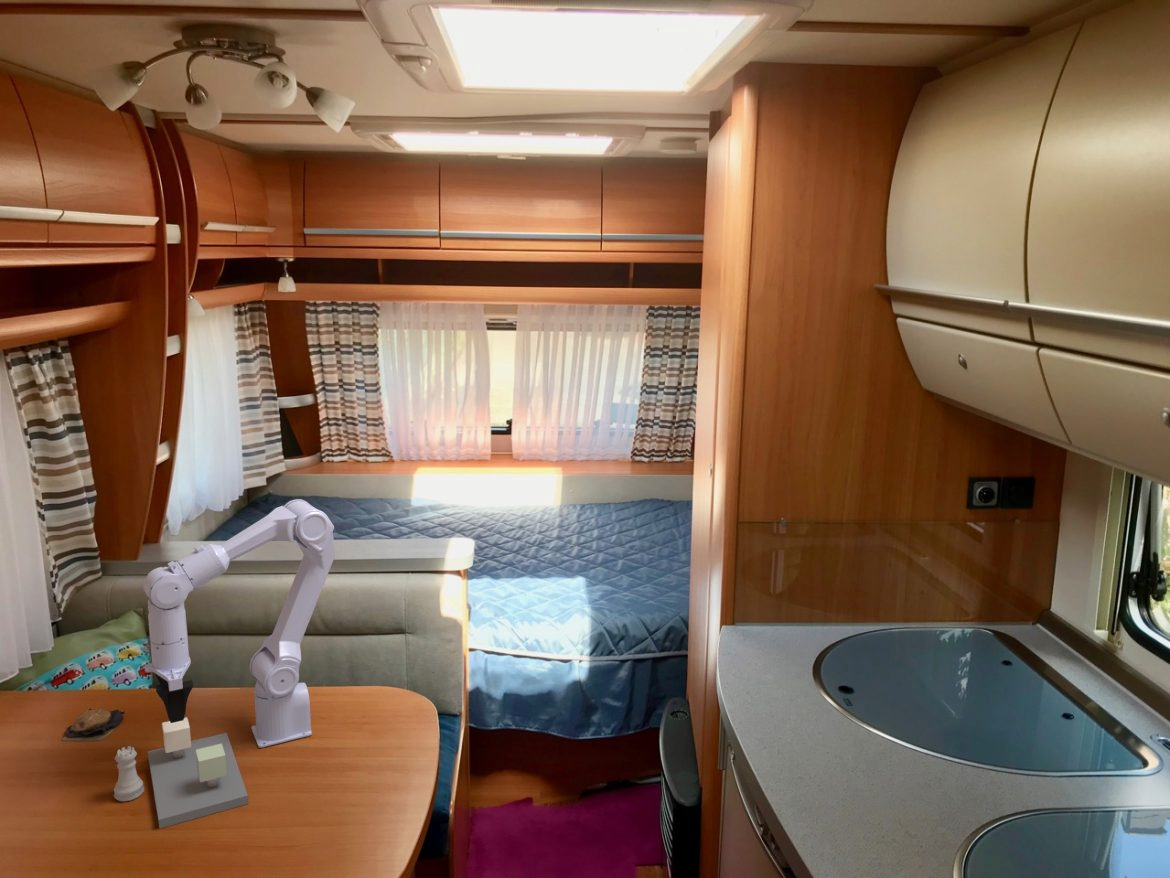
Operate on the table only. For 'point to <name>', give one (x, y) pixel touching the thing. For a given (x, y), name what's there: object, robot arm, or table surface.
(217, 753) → the pale green cube
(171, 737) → the cream matte cube
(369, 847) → the table surface
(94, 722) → the abalone
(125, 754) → the rook chess piece
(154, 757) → the panel
